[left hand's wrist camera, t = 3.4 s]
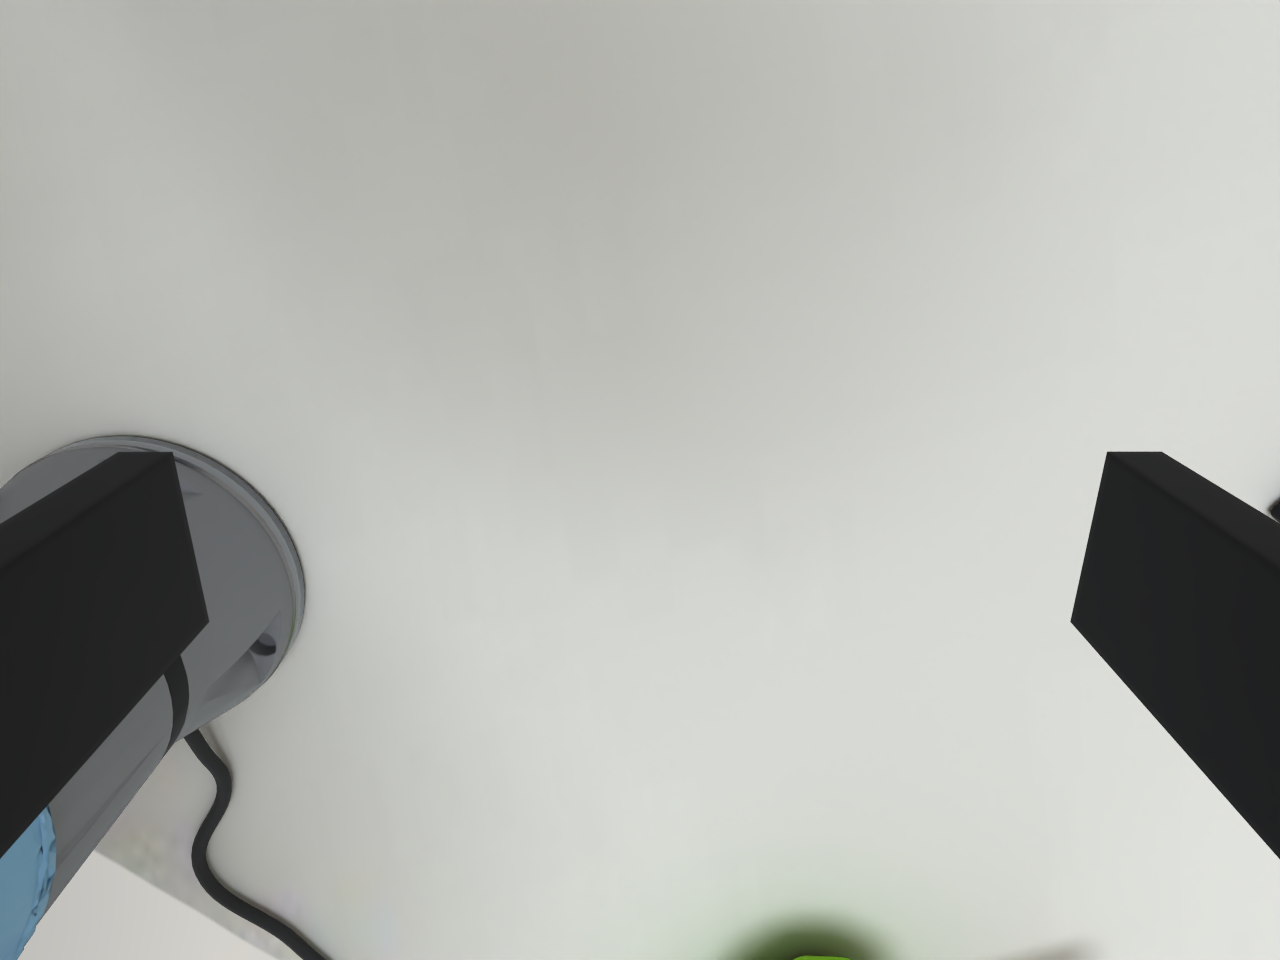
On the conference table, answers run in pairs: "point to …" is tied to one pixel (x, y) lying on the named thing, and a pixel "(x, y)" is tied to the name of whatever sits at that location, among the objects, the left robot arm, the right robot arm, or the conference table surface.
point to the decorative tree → (819, 958)
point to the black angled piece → (1276, 512)
